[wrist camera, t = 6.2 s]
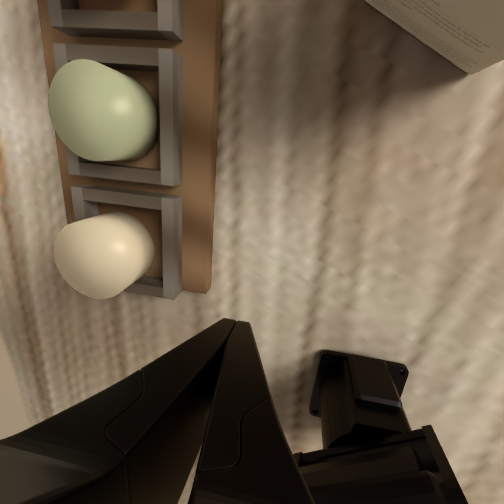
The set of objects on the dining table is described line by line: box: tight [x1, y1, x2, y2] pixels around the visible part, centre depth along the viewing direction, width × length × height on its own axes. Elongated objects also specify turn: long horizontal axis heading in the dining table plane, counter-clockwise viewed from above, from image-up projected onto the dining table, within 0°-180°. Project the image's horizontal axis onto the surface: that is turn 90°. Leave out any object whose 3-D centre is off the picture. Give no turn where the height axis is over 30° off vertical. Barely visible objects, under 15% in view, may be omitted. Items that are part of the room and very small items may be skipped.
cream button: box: [53, 212, 155, 299], centre depth 18 cm, size 5×5×3 cm
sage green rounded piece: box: [48, 59, 160, 161], centre depth 16 cm, size 5×5×3 cm
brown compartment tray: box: [37, 0, 223, 300], centre depth 18 cm, size 23×11×3 cm, turn 175°
